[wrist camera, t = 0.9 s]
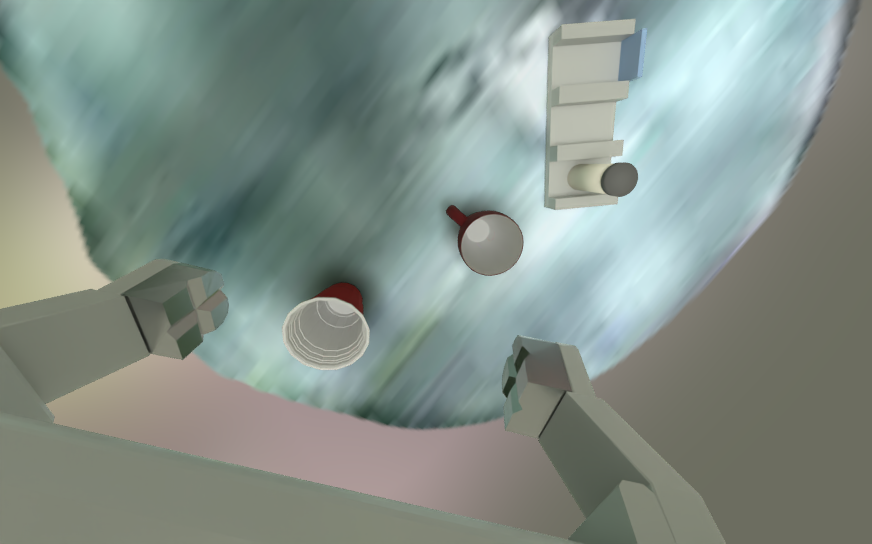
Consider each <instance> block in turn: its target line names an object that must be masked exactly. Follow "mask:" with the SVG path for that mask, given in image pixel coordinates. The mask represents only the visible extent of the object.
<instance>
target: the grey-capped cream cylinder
mask: <svg viewBox="0 0 872 544" xmlns="http://www.w3.org/2000/svg"><path fill="white" fill-rule="evenodd" d="M637 180H638V173H637V170H636V168H635V167H634V166H633V165H632V164H630V163H615V164H578V165H576V166H574V167H573V168H572V169H571V170H570V171H569V173H568V177H567V181H568V184H569V186H570V187H571V188H573V189H575V190H581V191H588V192H595V193H602V194H608V195H610V196H616V197H622V196H625V195H627V194H629V193H630V192H631V191H632V190H633V189H634V187H635V186H636V184H637Z"/></svg>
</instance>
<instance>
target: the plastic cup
mask: <svg viewBox="0 0 872 544" xmlns="http://www.w3.org/2000/svg"><path fill="white" fill-rule="evenodd" d="M282 332H283V342H284V344H285V346H286V347H287V349H288V351H289V352H290V354H291V355H292V356H293V357H294V358H296V359H297V360H298V361H300V362H301V363H302V364H304V365H306V366H309V367H313V368H316V369H319V370H337V369H340V368H343V367H346V366H349V365H351V364H353V363H354V362H355V361H356V360H358V359H359V358H360V357H361V356H362V355H363V354H364V352H365V350H366V348H367V346H368V344H369V327H368V325H367V323H366V321H365V318H364V316H363V304H362V296H361V294H360V291H359V290H358V289H357V288H356V287H355V286H353V285H351V284H349V283H338V284H334V285H332V286H331V287H329V288H327V289H325V290H324V291H322V292H321V293H319V294H318V295H317V296H315V297H314V298H311V299H310V300H307V301H304V302H301V303H300V304H299V305H297V306H296V307H295V308H294V309H293V310H292V311H290V312H289V313H288V315H287V317H286V320H285V322H284V324H283V327H282Z"/></svg>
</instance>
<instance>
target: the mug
mask: <svg viewBox="0 0 872 544" xmlns="http://www.w3.org/2000/svg"><path fill="white" fill-rule="evenodd" d="M446 213H447V215H448V216H449V217H450V218H451V219H453V220H454V221H455V222H456V223H457V224H458V225H460V230H459V234H458V248H459V252H460V255H461V257H462V259H463V260H464V262H465V263H466V265H467V266H468V267H469V268H470V269H472V270H473V271H475V272H476V273H479V274H482V275H488V276H492V275H498V274H501V273H503V272H506V271H507V270H509V269H510V268H511V267H513V266H514V264H515V263H516V262H517V261H518V259H519V257H520V255H521V253H522V249H523V235H522V232H521V230H520V228H519V226H518V225H517V224H516V223H515V222H514V221H513V220H512V219H511V218H509V217H508V216H506V215H504V214H502V213H500V212H496V211H481V212H476V213H474V214H471V215H469V216H467V217H466V216H465V215H464V214H463V213H462V212H461V211H460V210H459V209H457V208H456V207H455V206H454V205H451V206H449V207H448V208H447V210H446Z"/></svg>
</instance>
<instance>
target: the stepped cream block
mask: <svg viewBox="0 0 872 544" xmlns="http://www.w3.org/2000/svg"><path fill="white" fill-rule="evenodd" d="M634 29H635V19H629V20H615V21H602V22H589V23H576V24H562V25H561V26H560V27H559V28H558V29H557V30H556V31H555V32H554V33H553V34H552V35H551V36H550V37H549V45H548V85H547V124H546V164H545V203H544V207H548V208H551V209H554V210H559V209H570V208H581V207H591V206H602V205H612V204H617V203H618V197H616V196H610V195H608V194H602V193H595V192H588V191H581V190H575V189H573V188H571V187H570V186H569V184H568V181H567V177H568V173H569V171H570V170H571V169H572V168H573V167H574V166H576V165H578V164H611V157H612V156H622V151H623V141H624V140H616V141H613V132H614V120H615V109H616V102H617V101H620V100H623V99H626V98H628V90H629V82H630V81H633V80H635V79H638V78H640V77H642V73H643V63H644V54H645V45H646V36H647V28H645V29H641V30H639V31H638V32H636V33H634Z"/></svg>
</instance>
